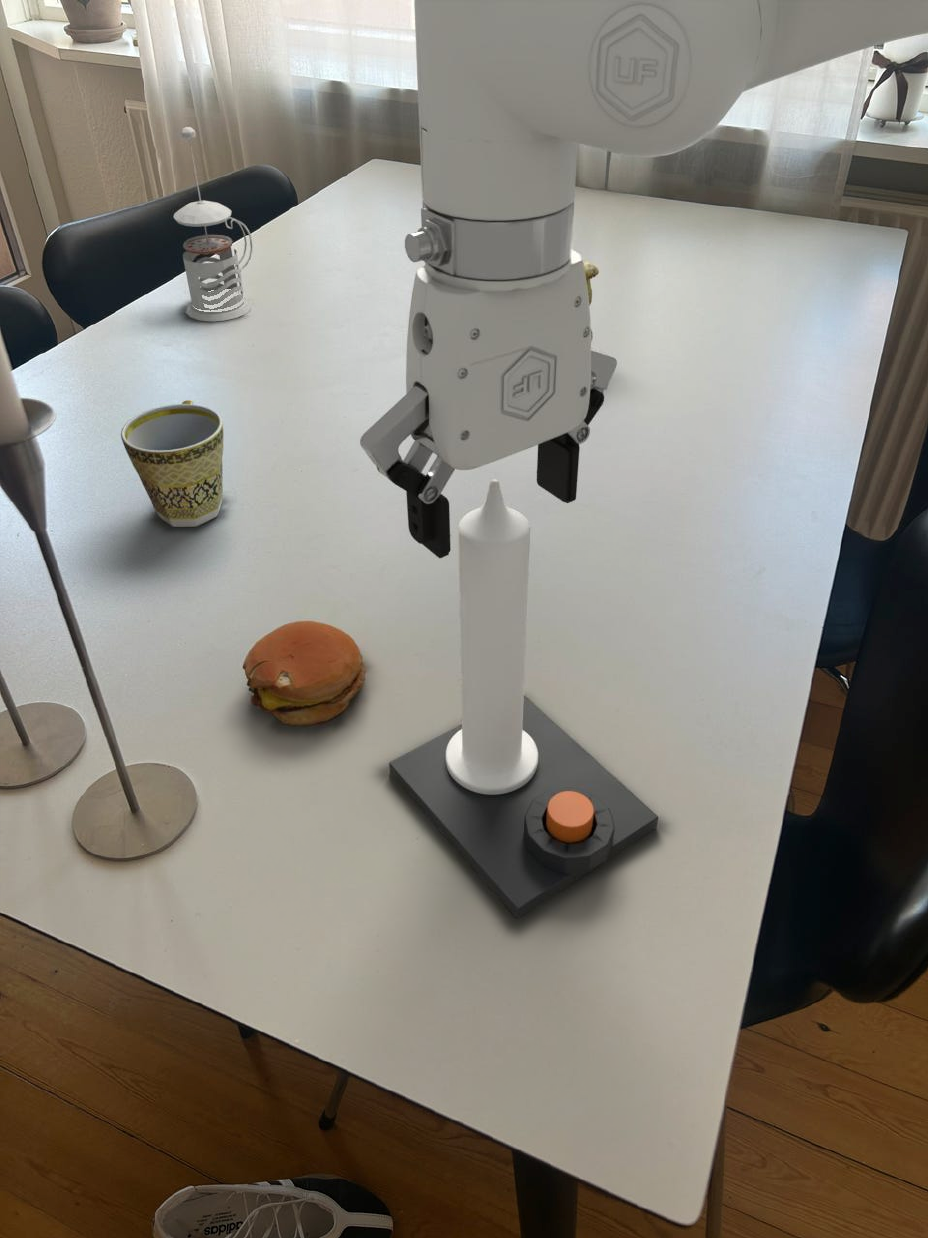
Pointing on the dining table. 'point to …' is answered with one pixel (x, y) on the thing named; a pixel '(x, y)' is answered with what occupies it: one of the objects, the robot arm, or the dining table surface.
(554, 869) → the scale
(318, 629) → the burger
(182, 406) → the ceramic cup
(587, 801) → the button
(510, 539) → the candle
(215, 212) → the french press
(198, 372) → the dining table surface
